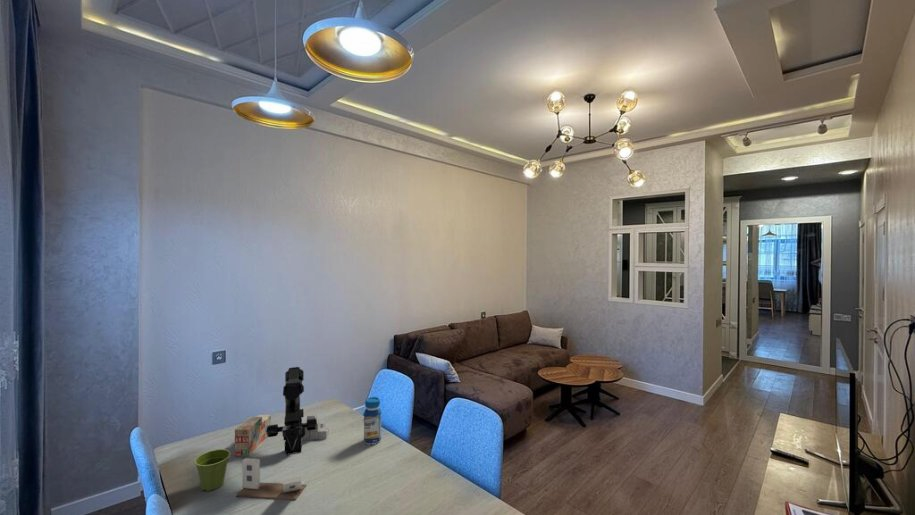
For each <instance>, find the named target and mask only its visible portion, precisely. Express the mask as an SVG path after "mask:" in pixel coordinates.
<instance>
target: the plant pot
mask: <svg viewBox="0 0 915 515" xmlns="http://www.w3.org/2000/svg"><path fill="white" fill-rule="evenodd" d="M231 454H232V453H231V450H229V449H226V448H225V449H224V448H219V449H213V450H212V449H211V450H209V451H206V452H203V453H202V454H199V455H198V456H197V457H196V458H195V459H194V462H193V463H194V465H195V466H196V469H197V471H198V472H197V473H198V478H199V482H200V487H201V490H202V491H206V492H210V491H213V490H214V491H215V490H216V489H219V488H220V487H221V486H222V485H223V484H224V483H225V477H226V470H227V464H228V462H229V459H230V456H231Z"/></svg>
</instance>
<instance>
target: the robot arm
mask: <svg viewBox="0 0 915 515" xmlns="http://www.w3.org/2000/svg"><path fill="white" fill-rule="evenodd" d="M284 376H285V378H284V380H285V384H284V386H283V387H282V388H283V390H282V396H283V397H284V401H285V407H284V408H285V409H284V411H285V412H284V414H285V415H284V425H283V426H279V425H278V424H271V425H269V426H268V427H267V431H266V433H267V438H273V437H277V436H278V435H279V433H282V437H283V441H284V452H285V455H290V454H298V453H301V452H302V448H303V444H302V440H301V437H304V435H305V428H307V430H308V431H311V430H316V429H317V420H318V418H317V419H315V418H314V419H308V420H307V419H306V420H307V423H302V422H303V419H302V418H304V417H305V416H304V411H305V409H304V408H302V409H301V395H302V394H303V393H304V392H305V386H304V385H303V381H304V380H305V379H304V376H305V374H304V370H303V369H302V368H300V366H293V367H289V368H288V370H287V371H285V374H284Z"/></svg>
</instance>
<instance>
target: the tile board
mask: <svg viewBox="0 0 915 515" xmlns="http://www.w3.org/2000/svg"><path fill="white" fill-rule="evenodd" d="M306 487H307V484H301V489H298V490H294V491H290V492H285V493H284V490H283V483H278V482H260V487H259V489H248V488H241V490H240V491H238V492H237V493H236V495H235V498H250V499H251V498H252V499H269V500H271V499H272V500H287V501H288V500H289V501H296V500H297V499H298V498H299V496H300V495H301V494H302V492H303V491H304V490H305V489H306Z"/></svg>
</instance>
